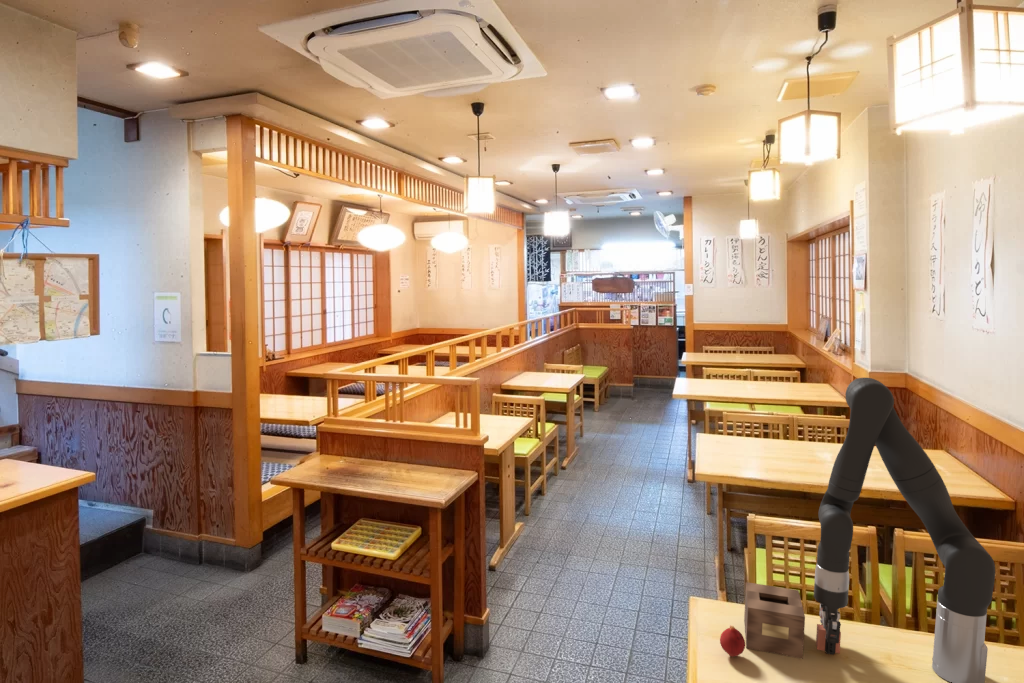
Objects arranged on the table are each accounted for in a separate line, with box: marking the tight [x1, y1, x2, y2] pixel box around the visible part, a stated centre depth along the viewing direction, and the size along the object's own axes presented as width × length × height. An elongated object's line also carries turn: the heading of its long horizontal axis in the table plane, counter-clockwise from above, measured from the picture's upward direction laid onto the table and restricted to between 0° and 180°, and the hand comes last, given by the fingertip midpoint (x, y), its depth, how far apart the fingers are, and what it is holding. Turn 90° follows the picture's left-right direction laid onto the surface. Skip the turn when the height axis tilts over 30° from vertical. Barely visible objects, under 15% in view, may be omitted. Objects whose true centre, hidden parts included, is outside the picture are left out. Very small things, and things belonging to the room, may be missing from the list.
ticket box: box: [743, 581, 806, 660], centre depth 153 cm, size 13×13×11 cm
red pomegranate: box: [719, 625, 746, 658], centre depth 146 cm, size 6×6×8 cm
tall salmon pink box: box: [815, 623, 842, 654], centre depth 149 cm, size 5×2×6 cm, turn 71°
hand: (827, 645), depth 149 cm, fingers open, 5 cm apart
